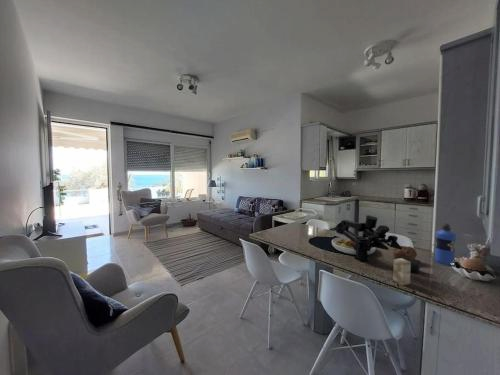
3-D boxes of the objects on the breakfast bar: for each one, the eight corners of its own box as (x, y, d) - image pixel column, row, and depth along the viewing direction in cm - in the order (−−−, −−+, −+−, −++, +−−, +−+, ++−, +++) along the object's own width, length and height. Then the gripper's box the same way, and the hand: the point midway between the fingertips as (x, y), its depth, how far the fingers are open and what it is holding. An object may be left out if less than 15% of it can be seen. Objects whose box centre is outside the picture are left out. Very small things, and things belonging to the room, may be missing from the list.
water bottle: (431, 260, 134) (432, 222, 132) (439, 258, 137) (441, 221, 136) (449, 266, 125) (451, 226, 124) (458, 264, 128) (460, 224, 127)
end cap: (396, 268, 123) (397, 257, 123) (400, 265, 127) (401, 254, 127) (417, 275, 115) (418, 263, 115) (421, 271, 119) (421, 259, 119)
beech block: (393, 280, 109) (393, 259, 108) (400, 279, 110) (401, 258, 109) (402, 285, 104) (403, 263, 103) (409, 284, 105) (410, 261, 104)
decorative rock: (415, 259, 135) (416, 245, 135) (417, 266, 126) (418, 250, 125) (391, 255, 143) (391, 241, 142) (391, 261, 133) (392, 246, 133)
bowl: (373, 260, 135) (373, 249, 135) (326, 251, 153) (326, 240, 153) (378, 247, 159) (378, 237, 159) (337, 240, 177) (337, 231, 177)
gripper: (363, 222, 122) (385, 235, 107) (388, 223, 127) (413, 235, 112) (358, 239, 125) (379, 254, 110) (383, 239, 130) (406, 253, 115)
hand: (395, 249), depth 112 cm, fingers open, 9 cm apart
